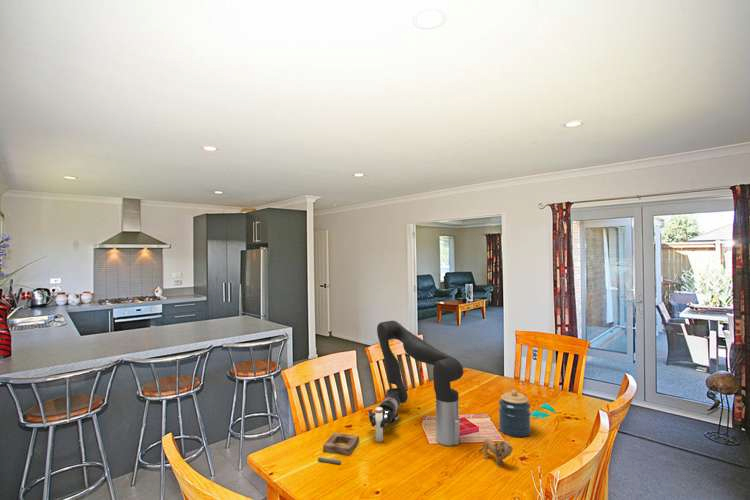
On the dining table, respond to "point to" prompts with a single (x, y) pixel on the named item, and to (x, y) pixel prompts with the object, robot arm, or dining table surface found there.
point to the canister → (514, 414)
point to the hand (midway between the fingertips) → (377, 424)
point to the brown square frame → (339, 448)
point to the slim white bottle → (378, 424)
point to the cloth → (541, 414)
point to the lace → (329, 460)
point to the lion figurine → (497, 450)
